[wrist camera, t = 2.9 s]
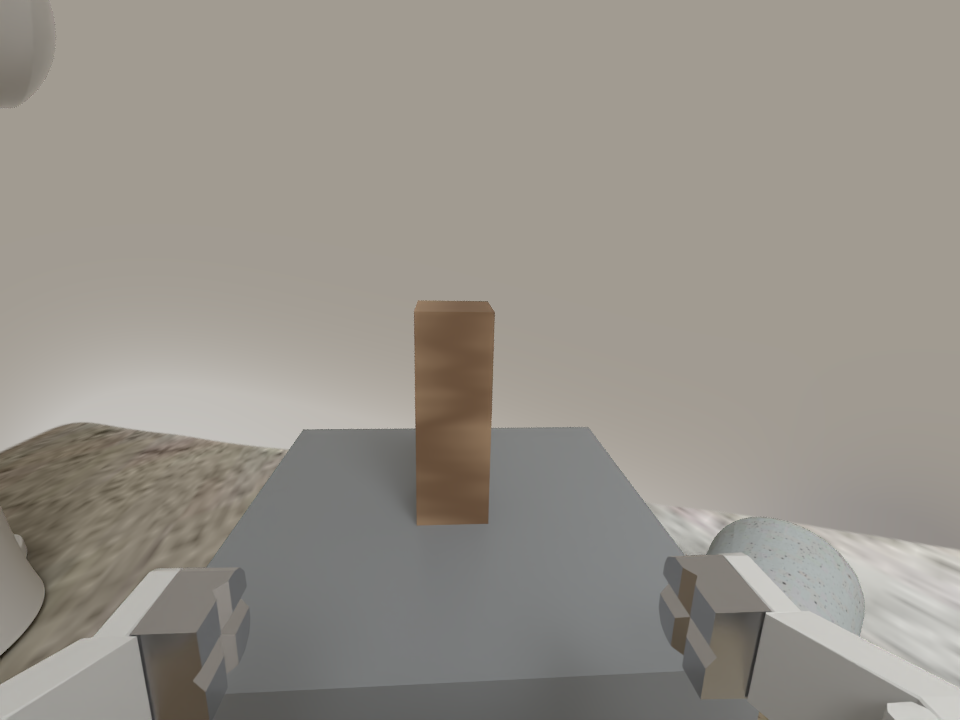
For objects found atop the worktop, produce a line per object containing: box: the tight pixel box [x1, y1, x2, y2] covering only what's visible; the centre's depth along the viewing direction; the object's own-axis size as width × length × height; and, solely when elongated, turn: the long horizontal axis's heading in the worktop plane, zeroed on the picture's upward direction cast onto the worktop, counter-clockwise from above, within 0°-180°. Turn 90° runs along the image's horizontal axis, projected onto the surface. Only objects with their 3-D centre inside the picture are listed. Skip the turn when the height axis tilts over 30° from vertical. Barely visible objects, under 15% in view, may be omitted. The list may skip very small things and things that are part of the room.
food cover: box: [206, 301, 759, 720], centre depth 22 cm, size 18×18×20 cm
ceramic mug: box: [706, 517, 865, 720], centre depth 24 cm, size 11×8×8 cm
